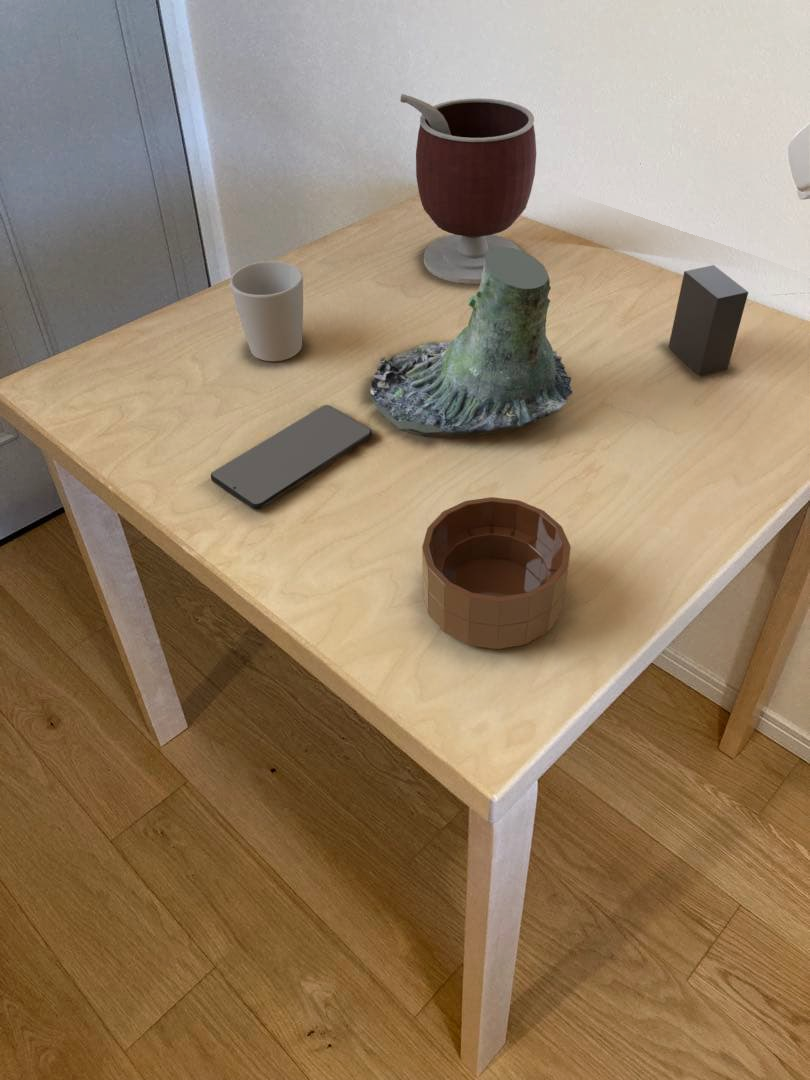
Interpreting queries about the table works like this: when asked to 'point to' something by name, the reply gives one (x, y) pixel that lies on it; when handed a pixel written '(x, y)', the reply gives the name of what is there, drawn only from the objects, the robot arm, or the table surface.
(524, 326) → the tree stump
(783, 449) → the table surface
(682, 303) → the case
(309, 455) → the smartphone
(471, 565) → the bowl
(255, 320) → the cup
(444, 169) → the mate gourd
